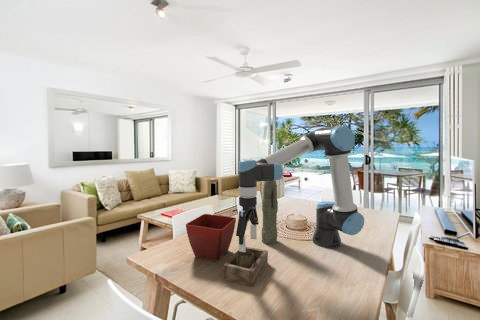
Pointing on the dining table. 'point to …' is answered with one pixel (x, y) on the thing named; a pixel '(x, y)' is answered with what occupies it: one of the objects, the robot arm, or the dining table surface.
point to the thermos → (269, 212)
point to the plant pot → (210, 235)
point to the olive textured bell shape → (245, 259)
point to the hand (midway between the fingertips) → (248, 244)
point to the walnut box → (246, 274)
